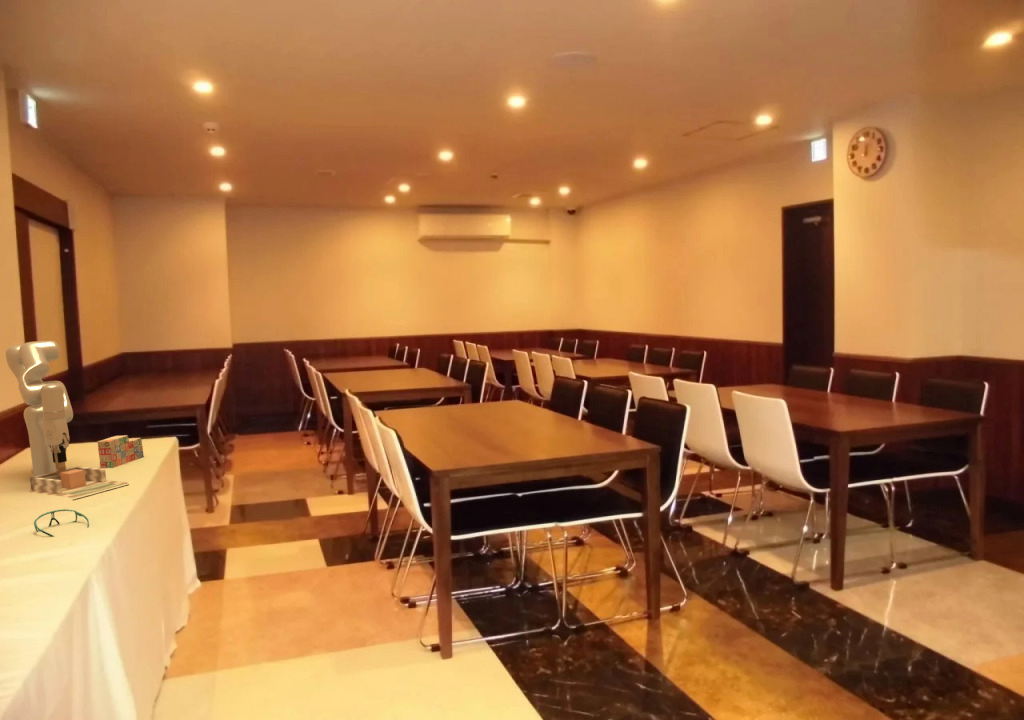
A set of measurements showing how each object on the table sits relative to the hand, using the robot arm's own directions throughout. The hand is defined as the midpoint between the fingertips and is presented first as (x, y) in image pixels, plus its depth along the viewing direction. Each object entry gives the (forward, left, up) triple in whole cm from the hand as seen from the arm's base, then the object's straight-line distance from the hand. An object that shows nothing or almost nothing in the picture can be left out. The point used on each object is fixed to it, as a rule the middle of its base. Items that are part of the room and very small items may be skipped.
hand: (60, 461), depth 297 cm
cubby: (+10, 0, -11) cm, 15 cm away
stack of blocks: (-20, +39, -11) cm, 45 cm away
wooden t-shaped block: (0, 0, -8) cm, 8 cm away
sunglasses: (+57, -34, -11) cm, 67 cm away
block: (+7, 0, -10) cm, 12 cm away
